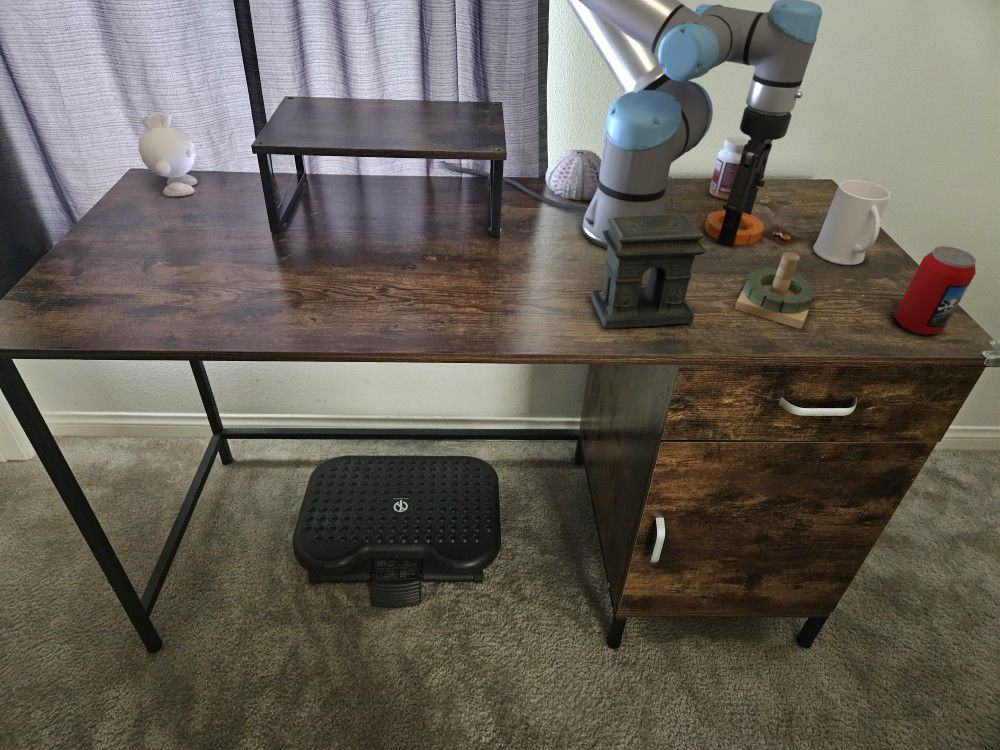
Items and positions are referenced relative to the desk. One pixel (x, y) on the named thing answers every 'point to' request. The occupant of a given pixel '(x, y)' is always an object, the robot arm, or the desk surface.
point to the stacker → (778, 293)
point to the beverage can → (936, 290)
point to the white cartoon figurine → (168, 153)
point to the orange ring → (743, 236)
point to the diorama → (780, 237)
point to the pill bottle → (727, 167)
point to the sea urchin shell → (575, 174)
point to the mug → (852, 222)
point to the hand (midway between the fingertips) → (733, 231)
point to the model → (634, 252)
